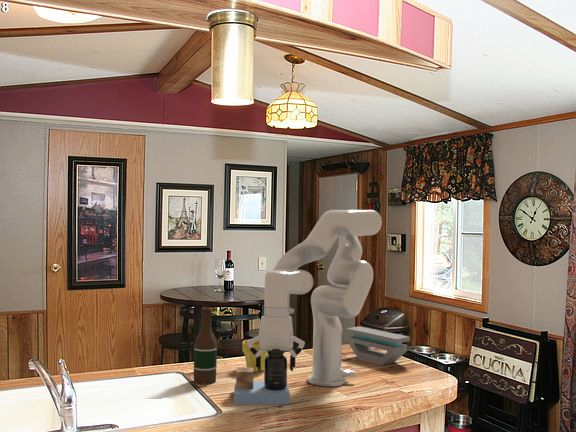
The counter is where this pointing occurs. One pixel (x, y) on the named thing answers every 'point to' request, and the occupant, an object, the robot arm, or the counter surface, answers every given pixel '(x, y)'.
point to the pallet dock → (261, 395)
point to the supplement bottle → (275, 370)
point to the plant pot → (253, 356)
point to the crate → (244, 378)
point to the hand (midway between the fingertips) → (275, 369)
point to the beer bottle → (205, 351)
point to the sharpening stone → (376, 345)
